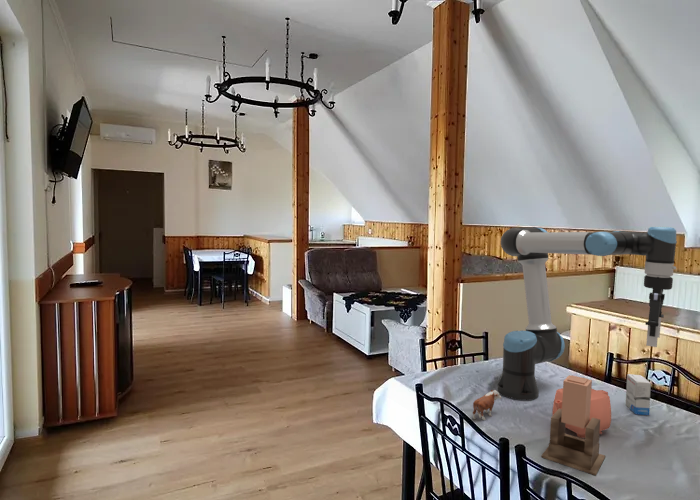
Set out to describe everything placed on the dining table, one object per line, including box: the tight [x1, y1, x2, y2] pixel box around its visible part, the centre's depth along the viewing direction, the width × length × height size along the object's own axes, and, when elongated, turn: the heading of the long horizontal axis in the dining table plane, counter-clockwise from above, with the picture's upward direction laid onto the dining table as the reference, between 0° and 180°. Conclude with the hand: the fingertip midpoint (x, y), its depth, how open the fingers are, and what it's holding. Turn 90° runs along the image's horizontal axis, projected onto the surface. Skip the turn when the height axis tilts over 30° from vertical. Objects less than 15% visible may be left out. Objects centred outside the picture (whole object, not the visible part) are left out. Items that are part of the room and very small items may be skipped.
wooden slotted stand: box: [540, 409, 606, 477], centre depth 130 cm, size 14×12×12 cm
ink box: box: [625, 373, 652, 416], centre depth 163 cm, size 9×5×12 cm, turn 168°
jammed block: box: [561, 374, 593, 429], centre depth 129 cm, size 6×6×12 cm
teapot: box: [551, 387, 612, 439], centre depth 147 cm, size 22×13×14 cm, turn 112°
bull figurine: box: [472, 389, 502, 421], centre depth 156 cm, size 4×13×8 cm, turn 127°
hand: (653, 341), depth 146 cm, fingers open, 13 cm apart
